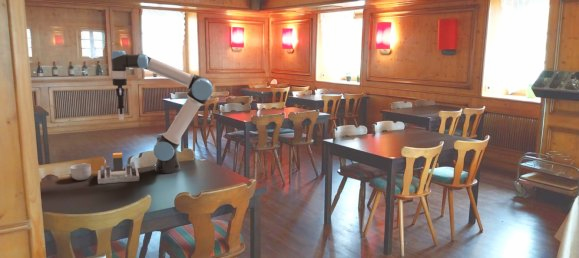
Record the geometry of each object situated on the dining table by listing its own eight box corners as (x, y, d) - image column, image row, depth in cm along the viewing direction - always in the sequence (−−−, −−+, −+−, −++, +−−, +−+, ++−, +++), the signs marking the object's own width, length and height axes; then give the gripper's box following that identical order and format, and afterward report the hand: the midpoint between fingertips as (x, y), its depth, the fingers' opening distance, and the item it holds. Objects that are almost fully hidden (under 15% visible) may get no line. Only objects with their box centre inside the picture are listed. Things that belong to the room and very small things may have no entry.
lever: (125, 169, 274) (124, 152, 269) (125, 171, 273) (125, 154, 267) (110, 170, 271) (109, 153, 266) (110, 172, 270) (110, 155, 264)
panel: (137, 172, 285) (136, 160, 283) (139, 180, 268) (138, 168, 267) (98, 175, 277) (97, 163, 275) (98, 184, 260) (97, 171, 259)
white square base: (134, 167, 284) (134, 161, 283) (136, 176, 267) (136, 170, 266) (100, 170, 277) (100, 164, 277) (100, 178, 260) (100, 172, 259)
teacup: (86, 182, 264) (85, 168, 262) (67, 181, 264) (66, 167, 262) (96, 175, 277) (96, 162, 276) (78, 174, 278) (77, 161, 276)
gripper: (112, 77, 268) (114, 117, 273) (112, 79, 257) (114, 121, 261) (126, 77, 271) (127, 117, 276) (127, 79, 259) (128, 121, 264)
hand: (121, 119), depth 268 cm, fingers closed
